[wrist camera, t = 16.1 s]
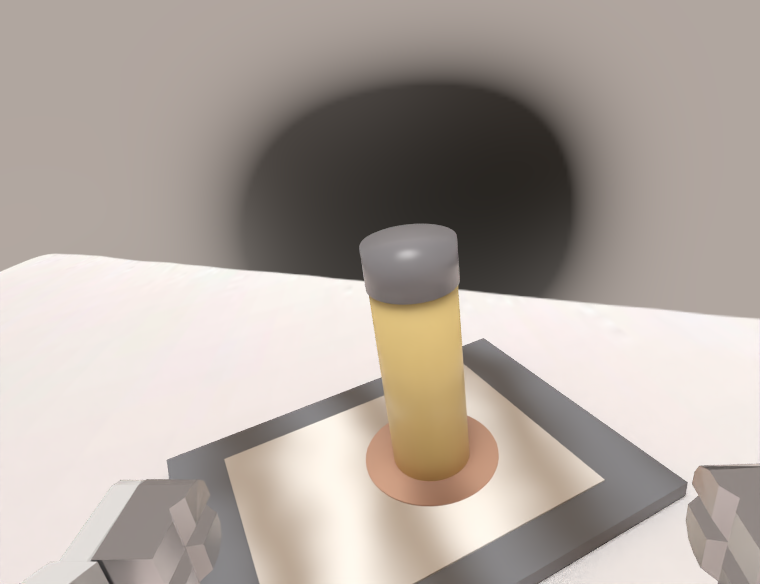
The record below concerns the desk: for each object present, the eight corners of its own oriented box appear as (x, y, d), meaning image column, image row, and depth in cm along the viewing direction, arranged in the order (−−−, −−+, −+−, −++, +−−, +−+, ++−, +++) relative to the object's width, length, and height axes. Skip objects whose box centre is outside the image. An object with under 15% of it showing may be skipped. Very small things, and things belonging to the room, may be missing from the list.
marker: (415, 495, 25) (384, 269, 20) (379, 444, 29) (344, 240, 24) (487, 461, 27) (476, 241, 22) (444, 416, 30) (426, 217, 25)
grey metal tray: (213, 776, 17) (205, 760, 17) (170, 470, 31) (165, 457, 30) (685, 495, 25) (688, 479, 24) (484, 347, 38) (483, 335, 38)
